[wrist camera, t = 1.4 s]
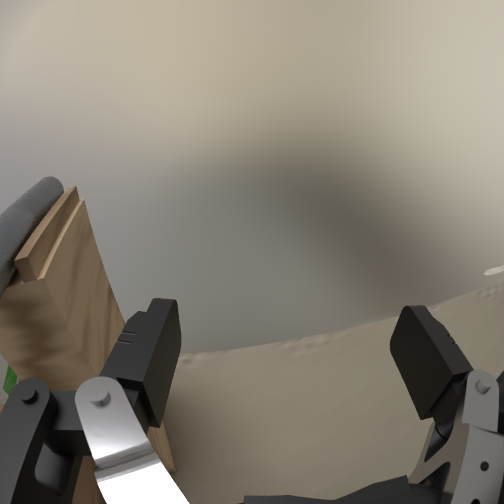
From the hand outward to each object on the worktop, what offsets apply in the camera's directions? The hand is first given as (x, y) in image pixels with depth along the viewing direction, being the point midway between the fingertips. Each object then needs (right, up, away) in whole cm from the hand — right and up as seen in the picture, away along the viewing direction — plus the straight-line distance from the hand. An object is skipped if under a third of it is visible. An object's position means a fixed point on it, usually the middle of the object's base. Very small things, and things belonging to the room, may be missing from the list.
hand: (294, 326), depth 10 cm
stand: (-17, -24, +24) cm, 38 cm away
